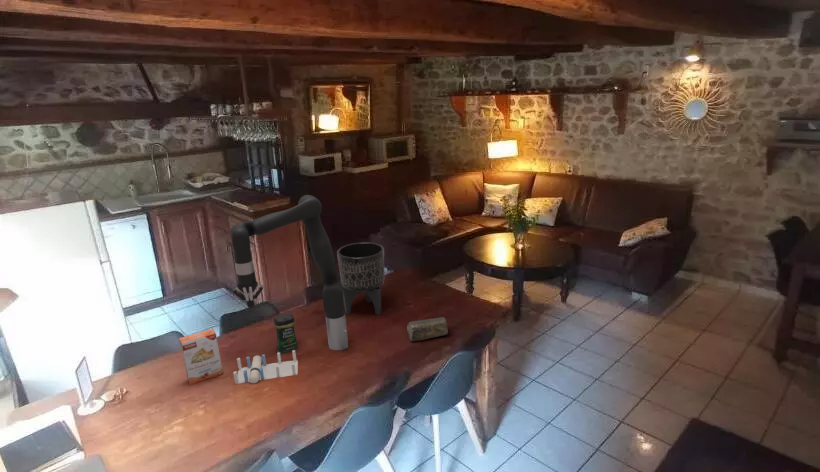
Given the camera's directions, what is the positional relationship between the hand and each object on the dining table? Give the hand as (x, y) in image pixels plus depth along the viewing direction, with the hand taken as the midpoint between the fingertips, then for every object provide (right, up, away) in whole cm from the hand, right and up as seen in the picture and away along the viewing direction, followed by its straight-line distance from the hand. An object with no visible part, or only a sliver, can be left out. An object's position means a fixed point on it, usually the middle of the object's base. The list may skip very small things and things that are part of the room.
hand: (251, 307), depth 211 cm
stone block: (+79, -18, +28) cm, 86 cm away
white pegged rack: (+7, -29, +2) cm, 30 cm away
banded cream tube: (+2, -29, +1) cm, 29 cm away
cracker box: (-21, -31, +1) cm, 37 cm away
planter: (+45, -10, +58) cm, 74 cm away
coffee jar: (+11, -23, +21) cm, 33 cm away
